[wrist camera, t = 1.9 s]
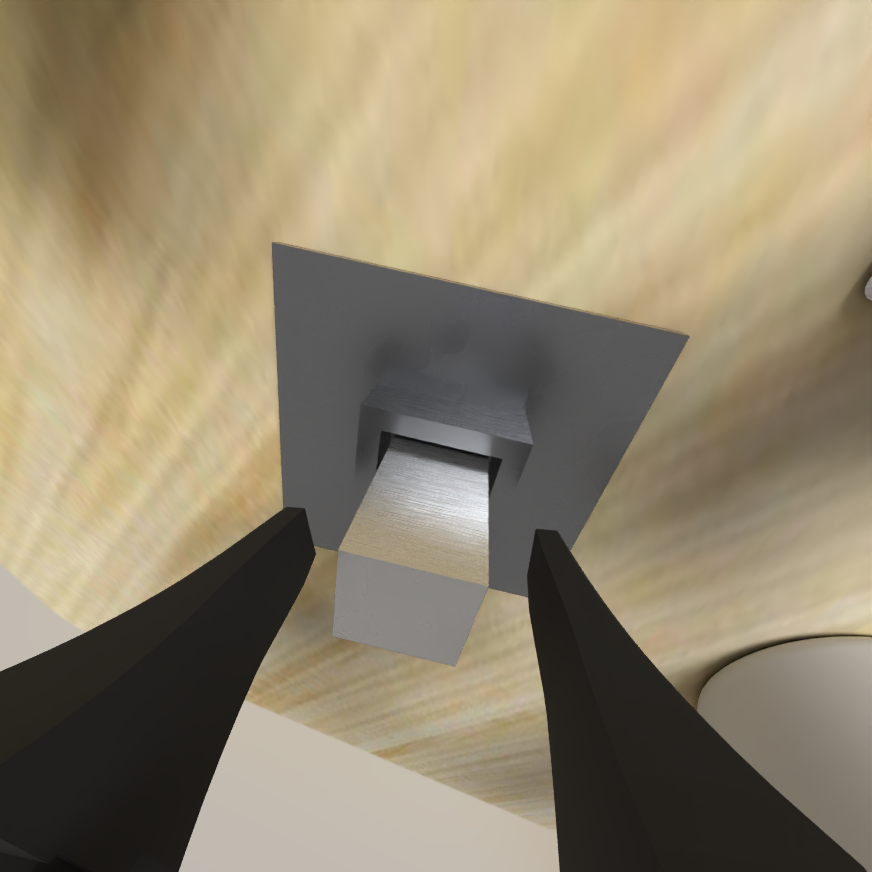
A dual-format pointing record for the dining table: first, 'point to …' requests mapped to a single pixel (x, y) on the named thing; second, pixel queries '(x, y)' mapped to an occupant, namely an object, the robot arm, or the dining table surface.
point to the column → (416, 553)
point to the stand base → (454, 394)
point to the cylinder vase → (805, 729)
